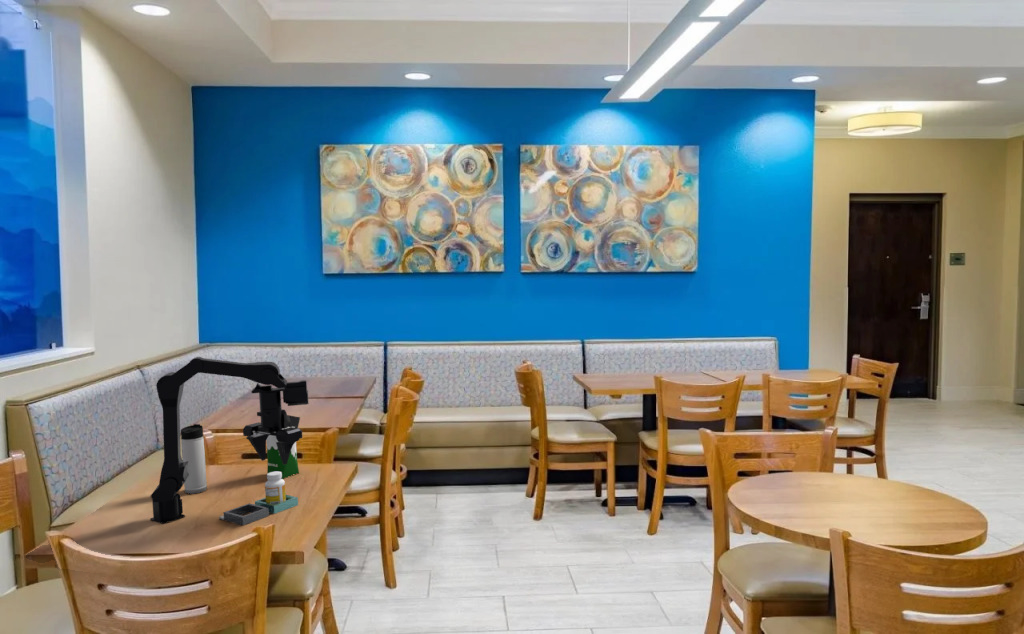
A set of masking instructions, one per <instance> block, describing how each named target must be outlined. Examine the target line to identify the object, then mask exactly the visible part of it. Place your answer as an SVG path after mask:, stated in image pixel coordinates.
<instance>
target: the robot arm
mask: <svg viewBox="0 0 1024 634" xmlns="http://www.w3.org/2000/svg"><path fill="white" fill-rule="evenodd" d="M199 373H200V374H209V375H219V376H227V377H236V378H242V379H247V380H249V381H251V382H254V383H256V385H255V387H254V388H253V389H252V390H251V394H258V398H259V411H257V412H256V415H257V417H260V422H258V421H257V422H256V423H255V422H254V423H250V424H246V425H245V426H244V427H243V429H242V433H243V434H242V435H243V436H244V437H246V440H248V442H250V444H251V447H252V448H253V449H254V450H255V452H256V453H257V455H258V457H259V458H260V460H261V461H266V458H267V442H266V440H267V438H268V436H269V435H272V436H276V439H277V440H278V441H279V442H276V444H277V447H278V451H279V454H280V457H281V460H282V463H283V465H285V464H287V462H288V459H289V455H290V452H291V449H292V446H293V444H294V443H295V442H296V443H297V442H299V441H300V439H303V430H302V429H301V428H299V425H300V420H301V417H300V416H295V415H289V414H287V411H286V409H282V408H283V407H282V399H283V404H284V403H285V405H286V404H287V407H291V406H293V407H294V406H305V405H309V390H308V387H307V385H308V384H307V380H305V379H304V380H303V379H302V380H298V381H287V379H286V378H285V377H284V376H283V375H282V374H281V372H280V367H279V366H278V365H277V363H276V362H273V361H258V362H237V361H230V360H222V359H212V358H205V357H202V356H196V357H194V358H192V359H191V360H190V361H189V362H188V363H187V364H185V365H184V366H182V367H181V368H179V369H178V370H177V371H175V372H174V371H171V372H168V373H165V374H164V375H163V376H161V377H160V378H159V379H158V380H157V382H156V392H157V396H158V400H159V403H160V404H161V408H162V426H163V433H162V435H163V463H162V467H161V470H160V476H159V482H158V485H157V486H156V488H155V489H154V491H152V493H151V494H150V498H151V502H152V516H153V517H151V518H150V520H149V521H151V522H154V523H158V524H162V525H166V524H169V523H171V522H174V521H176V520H177V521H178V520H179V519H183V518H186V515H185V514H183V512H184V510H183V499H182V498H181V493H178V492H179V491H180V490H181V489H182V487H184V483H185V481H186V479H187V478H188V476H189V473H188V461H187V462H183V459H182V446H181V419H180V417H181V415H180V406H181V401H182V397H183V393H184V386H185V383H186V382H187V381H189V380H190V379H191V378H193V377H194V376H196V375H197V374H199ZM281 392H282V394H281ZM288 427H290V428H288ZM294 427H295V428H294ZM283 428H286V429H283ZM282 429H283V430H282ZM275 432H276V433H275Z"/></svg>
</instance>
